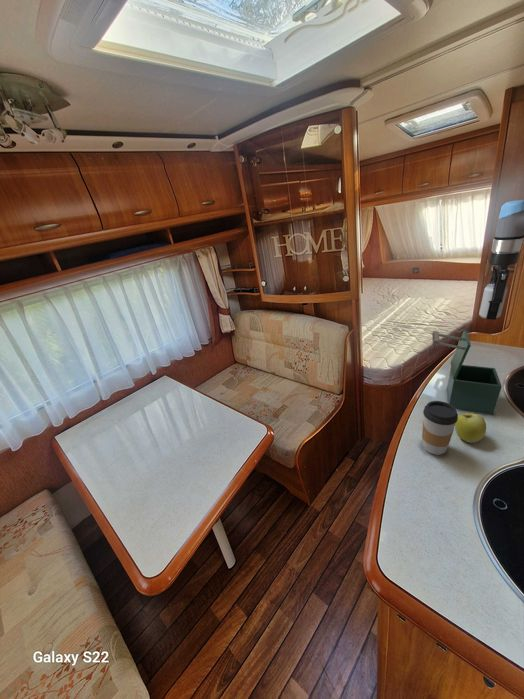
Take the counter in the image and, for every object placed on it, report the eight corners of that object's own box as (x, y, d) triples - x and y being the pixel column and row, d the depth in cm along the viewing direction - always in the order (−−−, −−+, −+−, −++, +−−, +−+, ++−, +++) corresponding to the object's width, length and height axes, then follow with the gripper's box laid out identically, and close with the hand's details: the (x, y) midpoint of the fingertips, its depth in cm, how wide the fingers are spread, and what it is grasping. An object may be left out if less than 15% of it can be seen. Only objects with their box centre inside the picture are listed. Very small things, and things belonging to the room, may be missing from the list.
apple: (494, 443, 80) (490, 419, 76) (464, 449, 83) (458, 425, 79) (479, 425, 87) (475, 401, 83) (452, 430, 89) (446, 408, 86)
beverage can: (504, 319, 99) (512, 286, 93) (483, 320, 100) (491, 288, 95) (494, 313, 104) (502, 282, 99) (475, 314, 106) (481, 283, 100)
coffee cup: (419, 434, 88) (424, 397, 82) (449, 441, 84) (458, 403, 78) (417, 453, 82) (423, 414, 76) (450, 461, 78) (460, 422, 71)
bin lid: (466, 330, 93) (434, 324, 97) (470, 345, 85) (435, 338, 89) (453, 362, 100) (423, 356, 104) (455, 379, 91) (422, 371, 95)
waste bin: (487, 395, 100) (495, 368, 95) (493, 415, 91) (501, 386, 86) (446, 389, 106) (451, 363, 101) (448, 407, 97) (453, 380, 92)
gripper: (527, 256, 83) (507, 326, 93) (514, 246, 97) (498, 307, 107) (495, 258, 86) (479, 324, 97) (487, 247, 101) (474, 306, 111)
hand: (489, 315), depth 102 cm, fingers closed on beverage can, 6 cm apart
